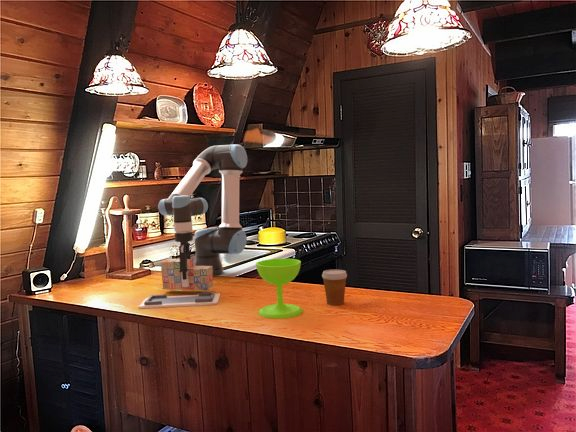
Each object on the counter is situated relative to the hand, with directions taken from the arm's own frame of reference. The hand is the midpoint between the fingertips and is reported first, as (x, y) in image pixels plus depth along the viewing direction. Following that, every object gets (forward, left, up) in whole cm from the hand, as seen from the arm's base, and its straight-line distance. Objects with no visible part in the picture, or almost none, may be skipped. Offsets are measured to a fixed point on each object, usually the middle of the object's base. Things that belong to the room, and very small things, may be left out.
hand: (187, 284), depth 214 cm
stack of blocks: (0, 0, -2) cm, 2 cm away
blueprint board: (+16, 0, -3) cm, 17 cm away
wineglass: (+38, +39, -4) cm, 55 cm away
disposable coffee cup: (+30, +60, -4) cm, 67 cm away
